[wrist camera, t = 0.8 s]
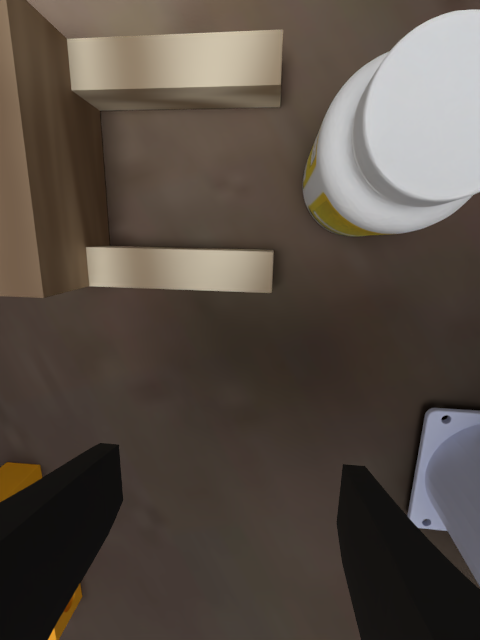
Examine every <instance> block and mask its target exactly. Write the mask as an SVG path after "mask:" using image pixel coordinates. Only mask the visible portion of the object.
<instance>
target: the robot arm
mask: <svg viewBox="0 0 480 640" xmlns="http://www.w3.org/2000/svg"><path fill="white" fill-rule="evenodd" d="M445 415H448V417H447V419H445V420H441V419H442V417H443V416H445ZM122 502H123V493H122V480H121V468H120V455H119V445H116V444H104V443H99V444H98V445H96V446H94V447H92V448H90V449H89V450H87V451H85V452H84V453H82V454H80V455H79V456H77V457H75V458H74V459H72V460H71V461H69V462H67V463H66V464H64V465H63V466H61V467H59V468H58V469H56V470H54V471H53V472H51V473H49V474H48V475H46V476H45V477H43V478H41V479H40V480H38V481H36V482H35V483H33V484H31V485H30V486H28V487H26V488H24V489H23V490H21V491H19V492H17V493H16V494H14V495H12V496H10V497H9V498H7V499H5V500H3V501H2V502H0V640H48V639H49V637H50V635H51V633H52V631H53V629H54V627H55V626H56V624H57V622H58V620H59V618H60V617H61V615H62V613H63V612H64V610H65V608H66V606H67V605H68V603H69V601H70V600H71V598H72V596H73V594H74V593H75V591H76V589H77V588H78V586H79V584H80V582H81V581H82V579H83V577H84V576H85V574H86V572H87V570H88V569H89V567H90V565H91V564H92V562H93V560H94V558H95V557H96V555H97V553H98V551H99V550H100V548H101V546H102V545H103V543H104V541H105V539H106V537H107V536H108V534H109V531H110V529H111V527H112V525H113V523H114V520H115V518H116V516H117V513H118V511H119V509H120V506H121V504H122ZM424 519H427V520H426V521H423V520H424ZM418 528H424V529H434V530H444V531H448V533H449V534H450V536H451V538H452V539H453V541H454V543H455V545H456V546H457V548H458V550H459V552H460V553H461V555H462V557H463V558H464V560H465V562H466V564H467V565H468V567H469V569H470V570H471V572H472V574H473V576H474V577H475V579H476V581H477V582H478V584H479V586H480V411H476V410H462V409H447V408H431V409H429V410H428V411H427V412H426V413H425V417H424V423H423V429H422V434H421V440H420V446H419V452H418V457H417V463H416V469H415V475H414V481H413V486H412V492H411V498H410V504H409V510H408V515H406V514H405V513H404V512H403V511H402V510H401V509H400V507H399V506H398V505H397V504H396V503H395V502H394V500H393V499H392V498H391V497H390V496H389V494H388V493H387V492H386V491H385V490H384V488H383V487H382V486H381V485H380V484H379V482H378V481H377V480H376V479H375V478H374V476H373V475H372V474H371V473H370V472H369V471H368V469H367V468H366V467H365V466H356V465H344V464H343V470H342V479H341V488H340V497H339V506H338V515H337V529H338V536H339V544H340V551H341V557H342V563H343V568H344V572H345V576H346V580H347V584H348V588H349V592H350V596H351V600H352V604H353V608H354V612H355V617H356V621H357V625H358V629H359V633H360V637H361V640H480V589H479V588H477V587H476V586H475V585H474V584H473V583H472V582H471V581H470V580H469V579H468V578H467V577H465V576H464V575H463V574H462V573H461V572H460V571H459V570H458V569H457V568H456V567H455V566H454V565H453V564H452V563H451V562H450V561H449V560H448V559H447V558H446V557H445V556H444V555H443V554H442V553H441V552H440V551H439V550H438V549H437V548H436V547H435V546H434V545H433V544H432V543H431V542H430V541H429V540H428V538H427V537H426V536H425V535H424V534H423V533H422V532H421V531H420V530H419V529H418Z"/></svg>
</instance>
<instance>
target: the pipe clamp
mask: <svg viewBox="0 0 480 640" xmlns="http://www.w3.org/2000/svg"><path fill="white" fill-rule="evenodd" d="M41 478H42V473H41V467H40V465H35V464H22V463H10V462H7V463H5V464H4V465H3V466H2V467H1V468H0V502H2V501H3V500H5V499H7V498H9V497H10V496H12V495H14V494H16V493H17V492H19V491H21V490H23V489H24V488H26V487H28V486H30V485H31V484H33V483H35V482H36V481H38V480H40V479H41ZM81 598H82V592H81V585H80V584H79V586H78V588H77V589H76V591H75V593H74V594H73V596H72V598H71V600H70V601H69V603H68V605H67V606H66V608H65V610H64V612H63V613H62V615H61V617H60V618H59V620H58V622H57V624H56V626H55V627H54V629H53V631H52V633H51V635H50V637H49V639H48V640H59V638H60V636H61V634H62V632H63V631H64V629H65V627H66V625H67V623H68V622H69V620H70V618H71V616H72V614H73V612H74V611H75V609H76V607H77V605H78V603H79V601H80V600H81Z"/></svg>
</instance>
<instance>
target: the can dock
mask: <svg viewBox="0 0 480 640" xmlns="http://www.w3.org/2000/svg"><path fill="white" fill-rule="evenodd" d="M282 50H283V30H262V31H239V32H215V33H192V34H169V35H146V36H123V37H100V38H76V39H66V38H65V37H64V36H63V35H62V34H61V33H60V32H59V31H58V30H57V29H56V28H55V27H54V26H53V25H52V24H51V23H50V22H48V21H47V20H46V19H45V18H44V17H43V16H42V15H41V14H40V13H39V12H38V11H37V10H36V9H35V8H34V7H33V6H32V5H31V4H29V3H28V2H27V1H26V0H0V296H13V297H37V298H45V297H49V296H53V295H57V294H61V293H64V292H68V291H72V290H76V289H80V288H84V287H88V286H99V287H125V288H152V289H179V290H205V291H232V292H259V293H272V282H273V259H274V250H257V249H216V248H174V247H133V246H110V240H109V227H108V213H107V200H106V186H105V173H104V159H103V145H102V132H101V118H100V111H112V110H164V109H215V108H266V107H280V100H281V77H282Z"/></svg>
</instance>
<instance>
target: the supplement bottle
mask: <svg viewBox="0 0 480 640" xmlns="http://www.w3.org/2000/svg"><path fill="white" fill-rule="evenodd" d="M302 187H303V196H304V200H305V203H306V206H307V208H308V210H309V212H310V214H311V215H312V217H313V218H314V219H315V220H316V221H317V223H319V224H320V225H321V226H322V227H323V228H325V229H326V230H328V231H330V232H333V233H335V234H338V235H342V236H351V237H357V236H368V235H386V234H401V233H406V232H412V231H416V230H420V229H423V228H426V227H428V226H430V225H433V224H435V223H437V222H439V221H441V220H443V219H445V218H447V217H448V216H450V215H451V214H453V213H454V212H455V211H457V210H458V209H459V208H460V207H461V206H463V205H464V204H465V203H466V202H467V201H468V200H469V199H470V198H471V197H472V196H473V195H474V194H476V193H478V192H480V10H460V11H453V12H450V13H446V14H442V15H440V16H437V17H435V18H433V19H430V20H428V21H427V22H425V23H423V24H421V25H420V26H418V27H416V28H415V29H414V30H412V31H411V32H409V33H408V34H407V35H406V36H404V37H403V38H402V39H401V40H400V41H399V42H398V43H397V44H396V45H395V46H394V47H393V48H392V50H391V51H389V52H387V53H385V54H383V55H381V56H379V57H377V58H375V59H374V60H372V61H371V62H369V63H367V64H366V65H364V66H363V67H362V68H361V69H359V70H358V71H357V72H356V73H355V74H354V75H352V76H351V77H350V79H349V80H348V81H347V82H346V83H345V84H344V85H343V87H342V88H341V89H340V91H339V92H338V93H337V95H336V96H335V98H334V100H333V101H332V103H331V105H330V107H329V109H328V111H327V113H326V115H325V117H324V119H323V122H322V125H321V127H320V130H319V132H318V135H317V137H316V140H315V142H314V145H313V147H312V150H311V152H310V155H309V157H308V160H307V163H306V166H305V169H304V174H303V182H302Z"/></svg>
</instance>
